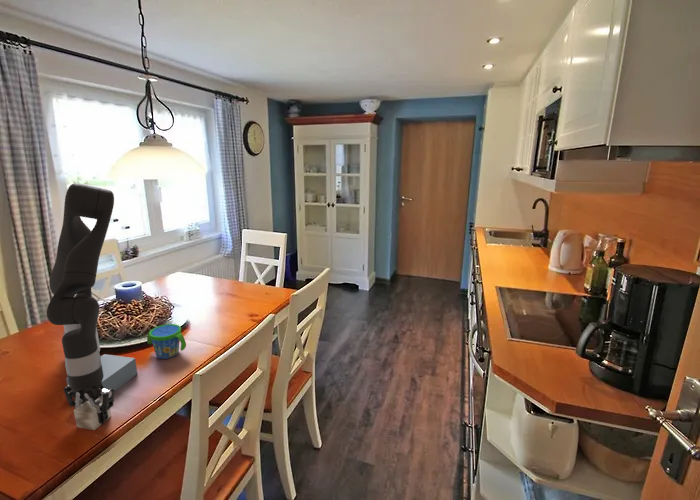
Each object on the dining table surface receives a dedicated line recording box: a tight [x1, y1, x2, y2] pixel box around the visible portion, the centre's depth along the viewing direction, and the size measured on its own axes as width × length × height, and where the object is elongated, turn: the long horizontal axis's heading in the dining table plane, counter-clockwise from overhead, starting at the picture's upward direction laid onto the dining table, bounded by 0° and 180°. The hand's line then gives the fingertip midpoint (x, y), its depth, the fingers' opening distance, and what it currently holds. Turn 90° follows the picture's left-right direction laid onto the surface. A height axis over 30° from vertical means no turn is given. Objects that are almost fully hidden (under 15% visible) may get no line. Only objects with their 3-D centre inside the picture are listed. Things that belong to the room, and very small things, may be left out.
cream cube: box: [73, 398, 112, 431], centre depth 97 cm, size 6×6×6 cm
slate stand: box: [65, 353, 138, 398], centre depth 113 cm, size 12×14×6 cm
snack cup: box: [146, 323, 187, 360], centre depth 130 cm, size 16×10×10 cm
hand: (94, 419), depth 97 cm, fingers closed on cream cube, 5 cm apart
